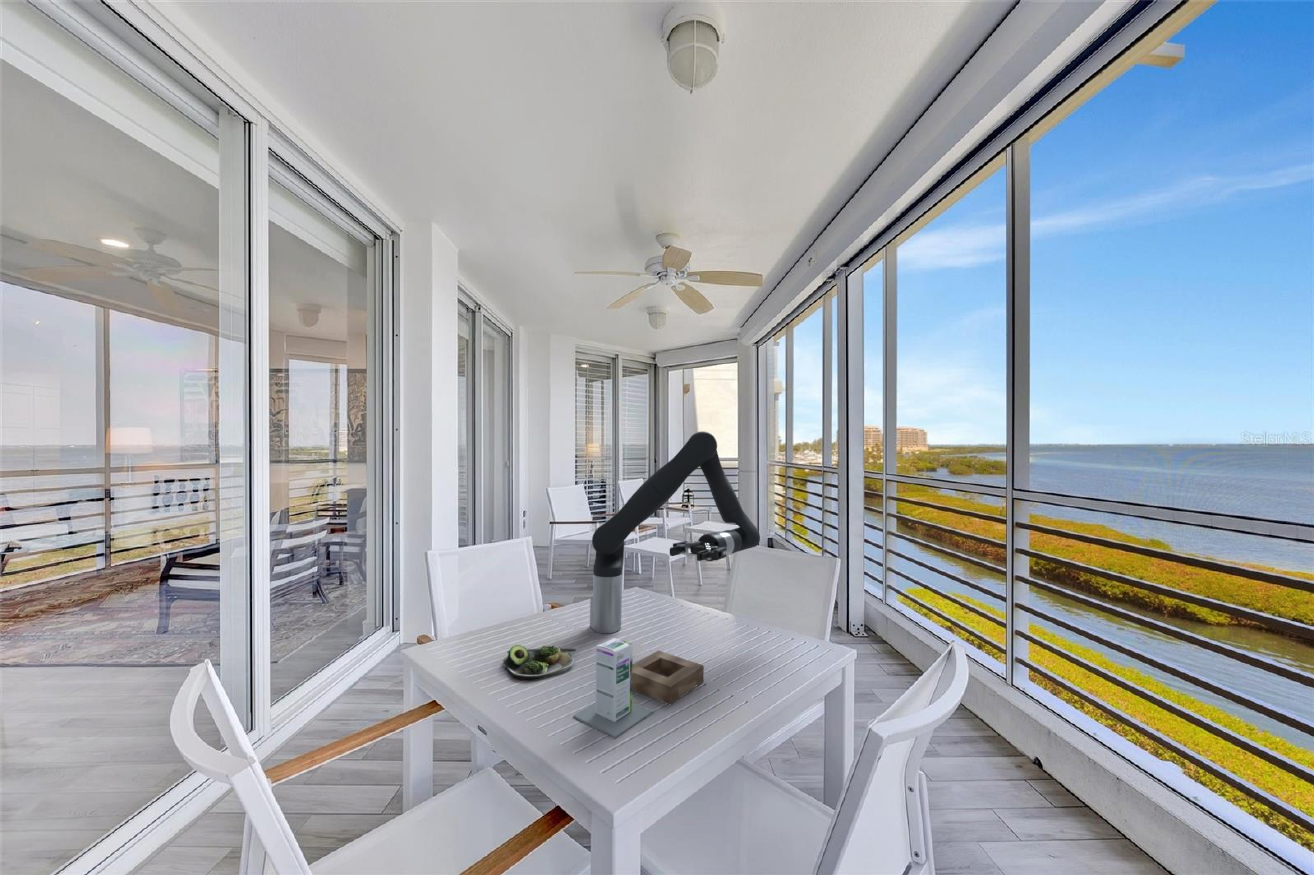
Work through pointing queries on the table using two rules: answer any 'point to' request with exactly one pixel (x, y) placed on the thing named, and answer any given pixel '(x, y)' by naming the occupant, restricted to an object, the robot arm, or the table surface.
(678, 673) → the socket block
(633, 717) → the mat
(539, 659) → the salad plate
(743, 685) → the table surface
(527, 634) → the table surface
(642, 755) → the table surface
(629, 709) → the syrup box
